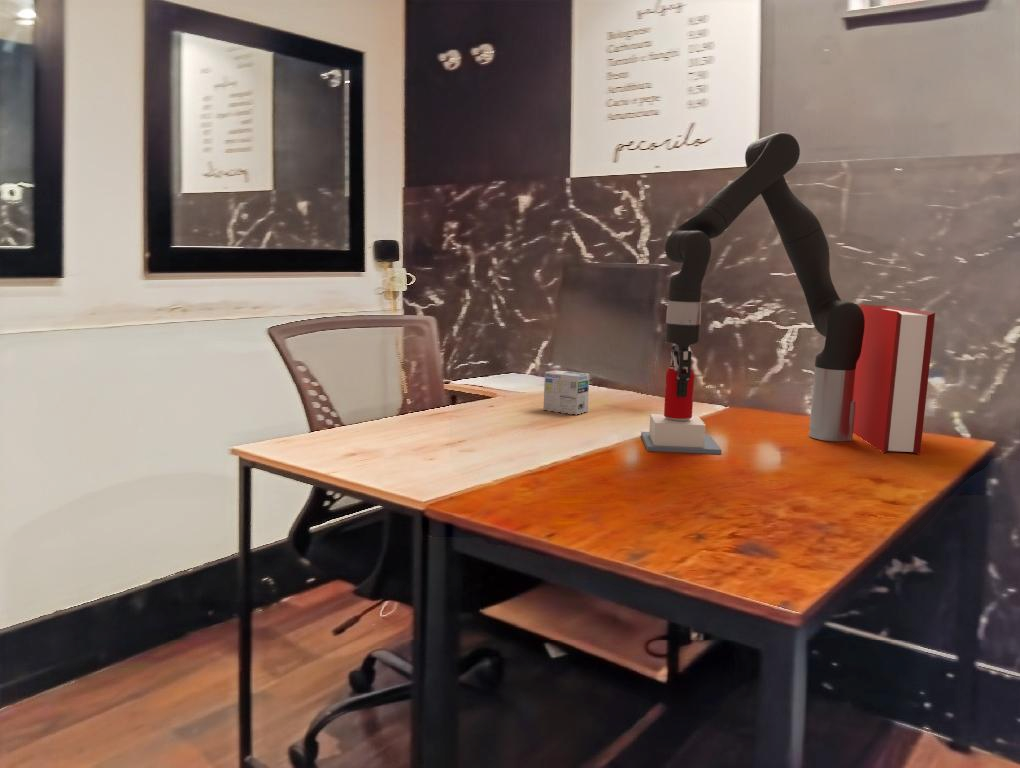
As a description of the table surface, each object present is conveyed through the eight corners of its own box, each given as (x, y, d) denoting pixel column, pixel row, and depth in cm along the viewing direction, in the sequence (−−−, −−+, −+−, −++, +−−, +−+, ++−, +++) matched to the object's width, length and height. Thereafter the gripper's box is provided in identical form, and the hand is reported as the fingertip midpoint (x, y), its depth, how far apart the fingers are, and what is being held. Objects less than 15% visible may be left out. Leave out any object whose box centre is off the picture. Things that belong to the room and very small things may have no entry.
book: (920, 455, 189) (935, 312, 184) (883, 453, 190) (897, 311, 185) (878, 430, 216) (890, 305, 211) (846, 429, 216) (858, 304, 212)
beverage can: (690, 417, 193) (693, 365, 191) (693, 422, 186) (696, 369, 185) (662, 416, 193) (665, 364, 191) (664, 421, 187) (667, 368, 185)
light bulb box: (588, 412, 229) (590, 373, 227) (577, 415, 223) (578, 375, 222) (554, 407, 235) (556, 369, 233) (542, 410, 229) (543, 371, 227)
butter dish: (708, 438, 199) (710, 413, 198) (721, 454, 183) (723, 427, 183) (641, 435, 200) (642, 410, 199) (647, 450, 184) (649, 424, 184)
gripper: (705, 324, 179) (700, 399, 182) (695, 320, 193) (690, 389, 196) (670, 323, 180) (665, 398, 182) (662, 318, 194) (658, 388, 196)
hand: (678, 393), depth 189 cm, fingers open, 8 cm apart
